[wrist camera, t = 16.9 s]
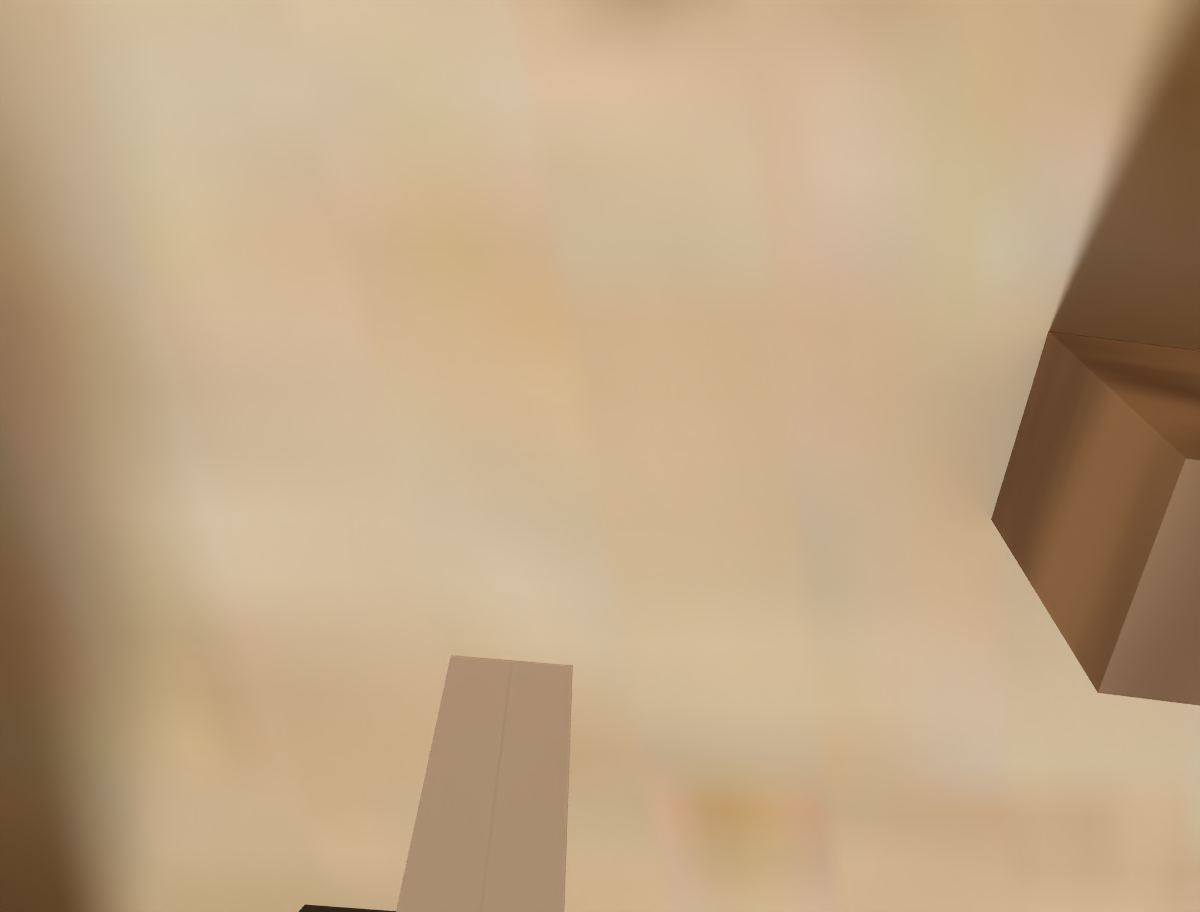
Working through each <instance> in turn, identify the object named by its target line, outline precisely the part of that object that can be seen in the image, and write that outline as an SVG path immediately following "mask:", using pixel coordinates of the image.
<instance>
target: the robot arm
mask: <svg viewBox="0 0 1200 912" xmlns="http://www.w3.org/2000/svg"><path fill="white" fill-rule="evenodd" d="M572 671H573V666H571V665H560V664H548V663H536V662H524V661H512V660H500V659H488V658H476V657H464V656H452V655H451V658H450V662H449V667H448V672H447V677H446V681H445V686H444V691H443V695H442V700H441V705H440V709H439V714H438V719H437V723H436V728H435V733H434V737H433V742H432V747H431V751H430V756H429V761H428V765H427V770H426V775H425V779H424V784H423V789H422V793H421V798H420V803H419V807H418V812H417V817H416V821H415V826H414V831H413V836H412V840H411V845H410V850H409V854H408V859H407V864H406V868H405V873H404V878H403V882H402V887H401V892H400V896H399V901H398V906H397V910H396V911H383V910H370V909H356V908H343V907H329V906H316V905H304V906H303V907H302V909H301V910H300V911H299V912H564V902H565V874H566V845H567V816H568V787H569V758H570V729H571V700H572Z"/></svg>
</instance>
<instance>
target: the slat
mask: <svg viewBox="0 0 1200 912" xmlns="http://www.w3.org/2000/svg"><path fill="white" fill-rule="evenodd" d="M991 520H992V521H993V523H994V525H995V526H996V528H997V529H998V531H999V533H1000V534H1001V536H1002V538H1003V539H1004V541H1005V542H1006V544H1007V546H1008V547H1009V549H1010V551H1011V552H1012V554H1013V555H1014V557H1015V559H1016V560H1017V562H1018V564H1019V565H1020V567H1021V568H1022V570H1023V572H1024V573H1025V575H1026V577H1027V578H1028V580H1029V581H1030V583H1031V585H1032V586H1033V588H1034V590H1035V591H1036V593H1037V594H1038V596H1039V598H1040V599H1041V601H1042V603H1043V604H1044V606H1045V607H1046V609H1047V611H1048V612H1049V614H1050V616H1051V617H1052V619H1053V620H1054V622H1055V624H1056V625H1057V627H1058V629H1059V630H1060V632H1061V633H1062V635H1063V637H1064V638H1065V640H1066V642H1067V643H1068V645H1069V646H1070V648H1071V650H1072V651H1073V653H1074V655H1075V656H1076V658H1077V659H1078V661H1079V663H1080V664H1081V666H1082V668H1083V669H1084V671H1085V672H1086V674H1087V676H1088V677H1089V679H1090V681H1091V682H1092V684H1093V685H1094V687H1095V689H1096V690H1097V692H1098V693H1105V694H1113V695H1121V696H1129V697H1137V698H1145V699H1153V700H1161V701H1169V702H1177V703H1185V704H1193V705H1200V351H1196V350H1188V349H1180V348H1173V347H1165V346H1157V345H1149V344H1142V343H1134V342H1126V341H1119V340H1111V339H1103V338H1096V337H1088V336H1080V335H1073V334H1065V333H1057V332H1050V331H1049V332H1048V335H1047V338H1046V342H1045V345H1044V348H1043V351H1042V355H1041V358H1040V361H1039V365H1038V368H1037V371H1036V374H1035V378H1034V381H1033V384H1032V388H1031V391H1030V394H1029V397H1028V401H1027V404H1026V407H1025V411H1024V414H1023V417H1022V421H1021V424H1020V427H1019V430H1018V434H1017V437H1016V440H1015V444H1014V447H1013V450H1012V453H1011V457H1010V460H1009V463H1008V467H1007V470H1006V473H1005V476H1004V480H1003V483H1002V486H1001V490H1000V493H999V496H998V499H997V503H996V506H995V509H994V513H993V516H992V519H991Z"/></svg>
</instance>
